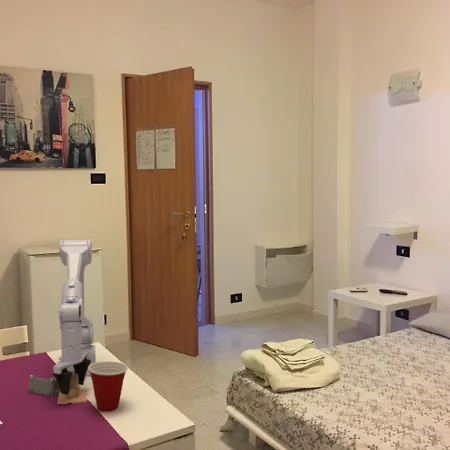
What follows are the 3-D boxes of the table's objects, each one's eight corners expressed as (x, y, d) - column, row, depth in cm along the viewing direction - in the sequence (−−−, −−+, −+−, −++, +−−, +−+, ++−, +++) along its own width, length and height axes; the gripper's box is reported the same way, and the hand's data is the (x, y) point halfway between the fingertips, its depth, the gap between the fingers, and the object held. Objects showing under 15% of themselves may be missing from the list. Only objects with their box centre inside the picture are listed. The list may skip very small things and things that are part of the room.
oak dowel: (72, 392, 155) (72, 372, 155) (81, 394, 153) (80, 375, 153) (63, 396, 152) (62, 376, 151) (72, 399, 150) (71, 379, 150)
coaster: (87, 391, 158) (87, 389, 157) (86, 402, 150) (86, 400, 150) (59, 393, 156) (59, 391, 156) (57, 404, 148) (57, 403, 148)
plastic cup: (134, 410, 144) (133, 368, 143) (95, 419, 139) (94, 375, 138) (120, 396, 154) (120, 356, 153) (84, 404, 148) (83, 363, 147)
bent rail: (76, 387, 160) (76, 370, 160) (76, 394, 155) (75, 377, 155) (29, 391, 157) (29, 374, 157) (27, 398, 152) (26, 381, 151)
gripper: (74, 334, 159) (75, 378, 161) (43, 349, 146) (45, 396, 147) (94, 337, 157) (95, 381, 158) (65, 352, 143) (66, 400, 145)
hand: (72, 389), depth 152 cm, fingers open, 7 cm apart
